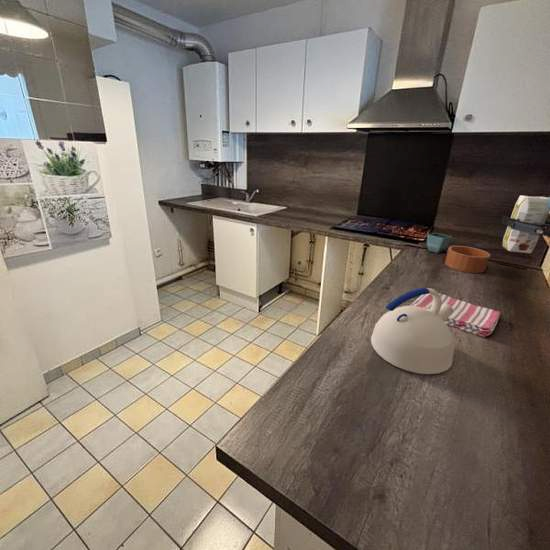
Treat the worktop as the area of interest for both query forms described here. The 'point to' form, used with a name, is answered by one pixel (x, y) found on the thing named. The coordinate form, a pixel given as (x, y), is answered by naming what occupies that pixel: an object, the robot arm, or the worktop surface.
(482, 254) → the pot
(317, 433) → the worktop surface
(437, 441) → the worktop surface
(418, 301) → the dish towel
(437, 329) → the kettle
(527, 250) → the juice carton
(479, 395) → the worktop surface
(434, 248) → the flower pot
